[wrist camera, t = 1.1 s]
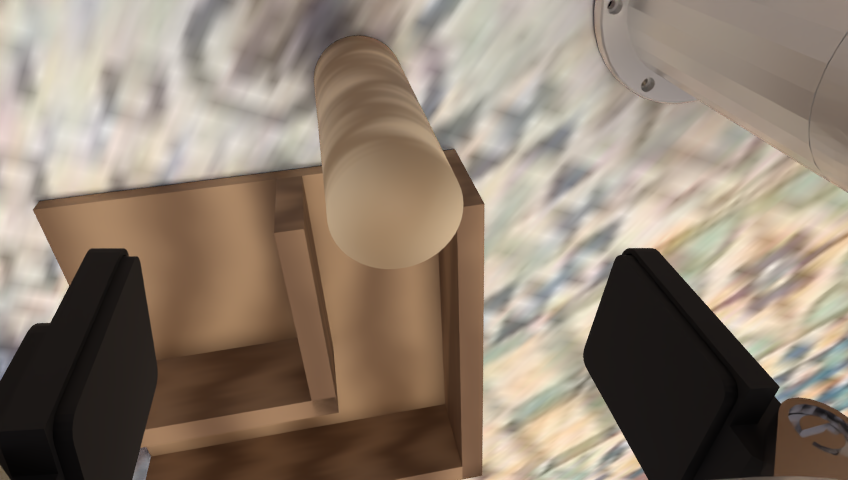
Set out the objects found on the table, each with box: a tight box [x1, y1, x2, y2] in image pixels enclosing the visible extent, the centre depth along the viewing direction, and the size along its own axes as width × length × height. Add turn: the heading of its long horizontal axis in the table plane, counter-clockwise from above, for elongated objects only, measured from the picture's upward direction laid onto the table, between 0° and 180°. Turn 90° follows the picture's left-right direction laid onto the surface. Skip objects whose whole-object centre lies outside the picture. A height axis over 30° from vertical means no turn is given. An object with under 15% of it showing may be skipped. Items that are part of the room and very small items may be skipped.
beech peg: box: [314, 36, 463, 269], centre depth 28 cm, size 5×5×15 cm
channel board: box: [33, 149, 484, 480], centre depth 40 cm, size 24×24×7 cm
